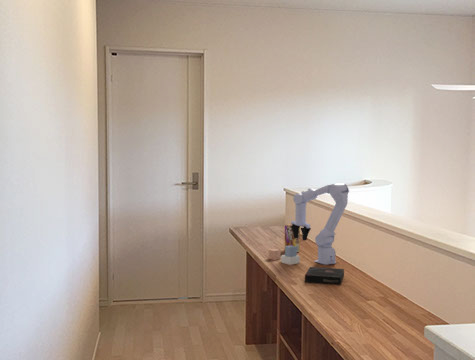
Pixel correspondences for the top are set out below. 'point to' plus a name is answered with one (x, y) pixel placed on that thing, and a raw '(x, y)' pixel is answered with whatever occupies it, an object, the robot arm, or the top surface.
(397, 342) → the top surface
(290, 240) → the candy box
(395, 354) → the top surface
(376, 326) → the top surface
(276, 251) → the terracotta block
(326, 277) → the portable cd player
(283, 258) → the white block
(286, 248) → the slate cube
